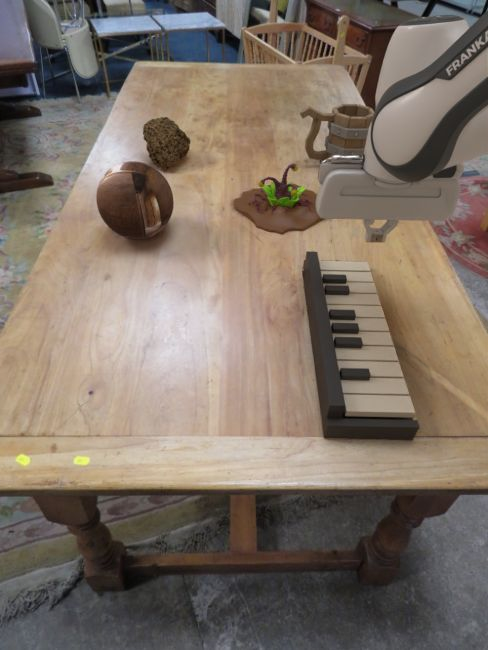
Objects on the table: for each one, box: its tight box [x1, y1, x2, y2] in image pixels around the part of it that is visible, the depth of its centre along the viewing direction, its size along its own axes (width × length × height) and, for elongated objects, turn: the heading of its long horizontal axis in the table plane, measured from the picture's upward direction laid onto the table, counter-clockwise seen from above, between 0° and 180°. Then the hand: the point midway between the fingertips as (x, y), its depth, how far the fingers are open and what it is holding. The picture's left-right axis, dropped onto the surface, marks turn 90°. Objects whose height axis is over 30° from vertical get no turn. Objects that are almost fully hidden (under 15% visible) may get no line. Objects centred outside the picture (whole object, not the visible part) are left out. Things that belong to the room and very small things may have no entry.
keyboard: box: [301, 250, 421, 441], centre depth 69 cm, size 12×36×6 cm, turn 179°
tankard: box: [299, 103, 375, 164], centre depth 112 cm, size 20×13×15 cm, turn 92°
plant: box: [233, 163, 325, 235], centre depth 95 cm, size 20×20×11 cm
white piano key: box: [343, 394, 416, 419], centre depth 58 cm, size 9×3×1 cm, turn 89°
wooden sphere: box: [95, 160, 175, 240], centre depth 87 cm, size 15×15×15 cm
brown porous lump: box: [142, 116, 192, 171], centre depth 114 cm, size 11×13×15 cm
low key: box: [319, 260, 371, 272], centre depth 79 cm, size 9×3×1 cm, turn 89°
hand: (374, 240), depth 70 cm, fingers closed
